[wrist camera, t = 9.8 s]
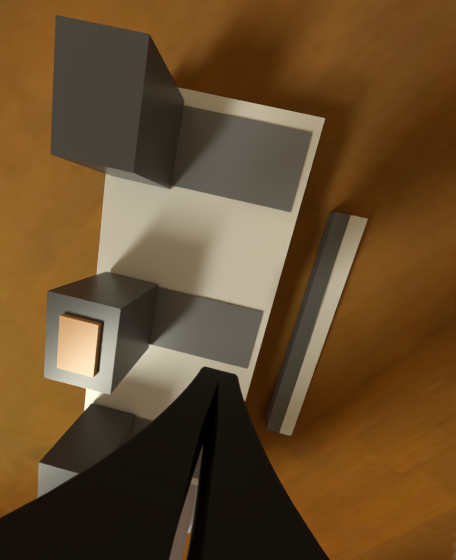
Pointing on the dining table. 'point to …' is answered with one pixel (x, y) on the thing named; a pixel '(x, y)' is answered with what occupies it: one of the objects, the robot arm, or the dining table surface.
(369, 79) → the dining table surface
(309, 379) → the long grey stick
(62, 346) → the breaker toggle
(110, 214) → the white panel with blocks
